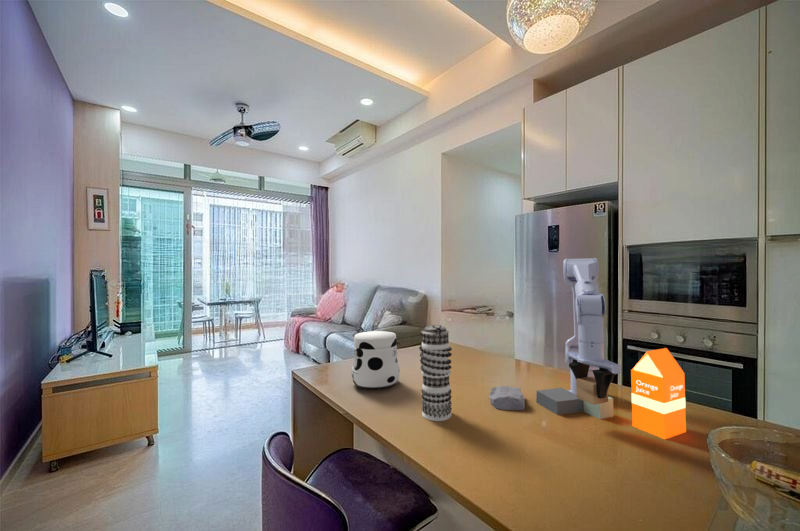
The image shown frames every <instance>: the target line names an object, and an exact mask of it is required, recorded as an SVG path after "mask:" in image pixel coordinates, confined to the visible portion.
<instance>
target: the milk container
mask: <svg viewBox="0 0 800 531" xmlns="http://www.w3.org/2000/svg"><path fill="white" fill-rule="evenodd" d="M397 354H398V345H397V335H396V333H395V332H391V331H385V330H372V331H363V332H358V333H356V334H354V338H353V362H352V365H351V366H352V367H351V378H352V382H353V384H354V385H355V386H357V387H358V388H360V389H361V388H362V389H365V390H380V389H381V390H382V389H386V388H390V387H392V386H395V385H396V384H397V383H398V381H399V379H400V373H401V372H400V370H401V369H400V364H399V360H398V357H397V356H398V355H397Z"/></svg>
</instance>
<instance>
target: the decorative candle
mask: <svg viewBox="0 0 800 531" xmlns="http://www.w3.org/2000/svg"><path fill="white" fill-rule="evenodd" d="M420 333H421V336H422V337H421V339H422V341H421V345H420V346H419V348H418V350H419V351H420V354H419V357H420V359H419V361H420V364H421V366H420V369H421V375H422V388H421V394H422V395H421V399H422V400H421V402H420V403H421V411H422V413H421V415H422V417H423V418H424V419H426V420H427V421H435V422H442V421H446V420H449V419H450V418H452V401H451V399H452V395H451V394H452V390H451V383H450V376H451V374H452V373H451V369H452V365H450V364H452V360H451V359H450V357H451V356H452V355H453V353H452V352H451V351H453V350H452V349H453V348H452V347H451V346H450V342H449V337H450V336H449V334H450V331H449V330H447V328H446V327H445V326H444V325H442V324H441V325H438V324H431V325H426V326H425V327H424V328H423V330H421V331H420Z"/></svg>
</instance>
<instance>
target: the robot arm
mask: <svg viewBox="0 0 800 531" xmlns="http://www.w3.org/2000/svg"><path fill="white" fill-rule="evenodd" d="M562 264H563V265H562V266H563V268H562V270H563V281H564V283H565V285H567V286H570V289H571V291H572V304H573V305H572V306H573V309H572V310H573V329H574V330H573V332H574V335H573V336H572V337H570V338H568V339H567V340H566V341H565V348H564V351H565V353H564V355H565V364H566V365H567V366H568V367H569V370H570V376H569V377H570V389H569V390H567V389H566V390H567V391H570V392H572V393H574V394H576V395H577V386H576V379H578V378H584V377H590V376H591V377H594V378H595V380H596V385H597V396H598V398H600V399H601V398H606V395H607V391H608V390H609V388H610V385H611V383H612V381H613V379H614V378H615V376H616V375H617V374H621V373H622V370H621V369H622V366H621V364H618V363H616V362H612V361H611V360H608V359H606V358H605V349H604V348H605V347H604V346H605V343H604V342H605V339H604V338H605V337H604V318H605V316H606V309H607V308H606V307H607V306H606V305H607V304H606V300H605V296H604V294H603V293H600V289H599V287H598V284H597V281H598V277H599V275H600V274H599V273H600V264H599V260H598V258H596V257H593V258H591V257H590V258H564V260H563V262H562ZM608 392H609V391H608Z"/></svg>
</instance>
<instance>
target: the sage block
mask: <svg viewBox="0 0 800 531" xmlns="http://www.w3.org/2000/svg"><path fill="white" fill-rule="evenodd" d="M583 412H584V413H586V414H587V415H590V416H591V417H592V416H593V417H595V418H596V419H599V420H603V419H608V418H613V417H614V412H615V411H614V398H613V397H611V396H608V402H605V403H600V404H595V405H593V404H590V403H588V402H586V401H584V411H583Z"/></svg>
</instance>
